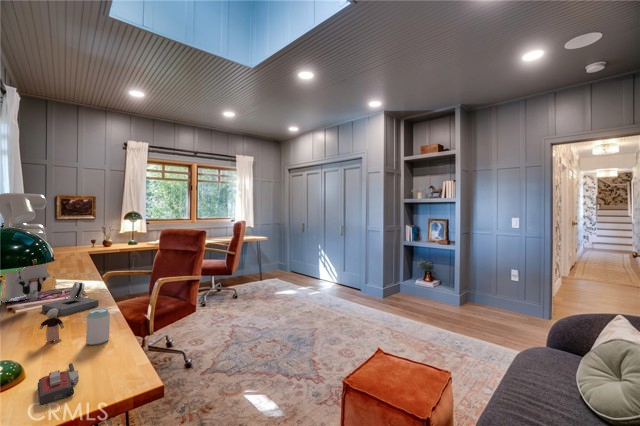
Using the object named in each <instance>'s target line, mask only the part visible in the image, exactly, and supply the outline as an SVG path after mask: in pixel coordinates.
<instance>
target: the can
mask: <svg viewBox="0 0 640 426" xmlns="http://www.w3.org/2000/svg"><path fill="white" fill-rule="evenodd" d="M110 319H111V313H110V311H109V309H108V308H106V307H105V308H103V307H102V308H96V309H95V308H94V309H91V310H89V311H88V314H87V316H86V331H85V333H86V335H85V339H86V340H85V343H86V344H87V345H90V346H96V345H101V344H104V343H106V342H107V341H108V340H109V339H110V328H111V327H110V326H111V325H110V324H111V323H110V322H111V320H110Z"/></svg>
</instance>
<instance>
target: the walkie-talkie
mask: <svg viewBox="0 0 640 426" xmlns="http://www.w3.org/2000/svg"><path fill="white" fill-rule="evenodd" d="M68 369H69V371H68V370H67V371H66V370H63V371H60V370H59V369H58V370H54V371H52V372H49V373H48V375H45V376H43V377H40V378H39V379H38V382H37V391H38V403H39V406H45V405H44V404H46V405H49V404H51V403H55V402H57V401H60V400H65V399H67V398H69V397H72V396H74V393H75V390H74V386H75V385H77V384H78V383H79V381H80V379H79V378H80V377H79V376H80V375H79V371H78V369H77V370H75V368H74V364H73V363H72V362H70V363H69V364H68ZM48 403H49V404H48Z"/></svg>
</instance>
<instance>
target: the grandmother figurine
mask: <svg viewBox="0 0 640 426" xmlns="http://www.w3.org/2000/svg"><path fill="white" fill-rule="evenodd" d="M57 313H58V309H51V310H50V311H48V312H46V314H45V316H46V317H48V318H47V319H45V320H44V321H41V323H40V326H39V327H38V329H39V330H42V329H43V328H44V327H45V326H46V333H45V334H46V341H47V342H45V345H48V344H58V343H60V342H62V338H60V330H59V327H60V329H64V328H65V325H64V322H63V321H62V320H61V319H60V318H58V315H57Z"/></svg>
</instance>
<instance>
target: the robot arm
mask: <svg viewBox="0 0 640 426" xmlns="http://www.w3.org/2000/svg"><path fill="white" fill-rule="evenodd" d="M47 205H48V201H47V198H46V197H45V195H43V194H38V193H23V192H22V193H19V192H18V193H17V192H4V193H0V215H1V217H2V218H3V223H4V224H3V227H15V228H21V229H25V230H28V231H31V232H34V233H36V234H38V235H39V236H41V237H42V238H43V239H44V240H46V241H47V242H48V237H47V233H46V227H44V225H43V224H39V223H30V222H31V221H33V220H35V218H36V216H37V215H36V212H35V211H36V210H44V209H45V208H46V207H47ZM50 277H51V273H49V272H48V265H47V264H43V265H37V266H32V267H26V268H24V269H23V270H21V271H18V272H15V273H10V274H6V275H5V278H4V279H5V280H4V297H3V298H1V299H2V302H1V304H2V303H4V304H5V302H7V301H9V300H10V299H11V298H15V297H20V296H24V295H27V294H29V286H28V282H29V280H31V279H36V278H37V279H38V293H40V292H41V291H42V287H43V286H42V285H43V283H44V282H45V281H46V280H47V279H48V278H50Z"/></svg>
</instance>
